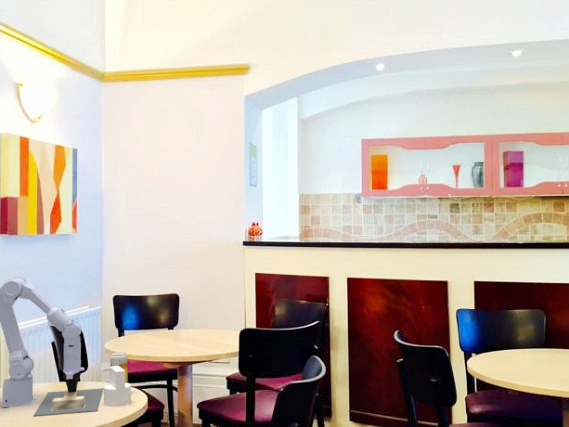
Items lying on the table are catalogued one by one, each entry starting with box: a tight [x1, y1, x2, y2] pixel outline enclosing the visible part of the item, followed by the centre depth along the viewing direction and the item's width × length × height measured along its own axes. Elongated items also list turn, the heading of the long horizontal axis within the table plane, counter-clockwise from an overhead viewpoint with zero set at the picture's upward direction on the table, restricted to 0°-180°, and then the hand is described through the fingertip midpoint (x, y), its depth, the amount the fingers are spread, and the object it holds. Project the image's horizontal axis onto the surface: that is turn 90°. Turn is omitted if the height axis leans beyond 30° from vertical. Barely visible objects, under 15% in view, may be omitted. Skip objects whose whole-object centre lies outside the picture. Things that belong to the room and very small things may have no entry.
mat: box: [33, 387, 104, 418], centre depth 203 cm, size 20×28×1 cm
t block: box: [52, 392, 85, 410], centre depth 198 cm, size 10×10×3 cm
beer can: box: [109, 351, 129, 383], centre depth 212 cm, size 6×6×15 cm
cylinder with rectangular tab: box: [103, 366, 132, 407], centre depth 201 cm, size 9×9×12 cm
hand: (72, 394), depth 205 cm, fingers closed
